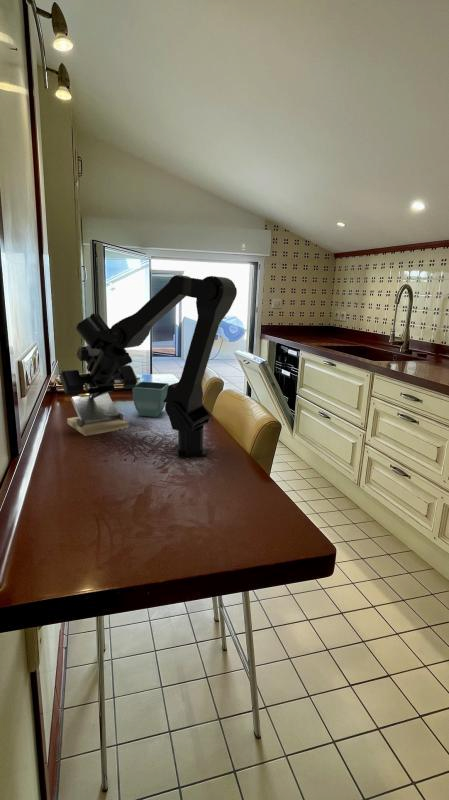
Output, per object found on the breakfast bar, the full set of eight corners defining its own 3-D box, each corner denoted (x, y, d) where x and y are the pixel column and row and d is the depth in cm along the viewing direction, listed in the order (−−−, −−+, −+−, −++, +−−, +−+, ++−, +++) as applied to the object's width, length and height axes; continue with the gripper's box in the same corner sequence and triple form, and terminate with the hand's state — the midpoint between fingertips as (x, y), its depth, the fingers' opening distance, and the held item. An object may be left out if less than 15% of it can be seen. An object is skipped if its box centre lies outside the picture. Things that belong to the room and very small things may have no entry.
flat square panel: (119, 416, 114) (106, 389, 119) (83, 422, 108) (71, 394, 112) (118, 420, 115) (105, 393, 120) (82, 426, 109) (69, 397, 113)
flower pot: (169, 411, 130) (169, 382, 128) (162, 419, 122) (162, 389, 120) (140, 409, 131) (140, 381, 129) (131, 417, 123) (131, 387, 120)
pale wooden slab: (128, 428, 113) (128, 417, 113) (85, 436, 106) (84, 424, 105) (108, 417, 122) (108, 407, 121) (67, 423, 115) (66, 413, 114)
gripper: (131, 335, 113) (113, 369, 124) (60, 337, 101) (47, 375, 112) (146, 369, 109) (126, 402, 120) (74, 376, 97) (59, 411, 108)
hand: (91, 396), depth 115 cm, fingers closed, pressing on flat square panel
